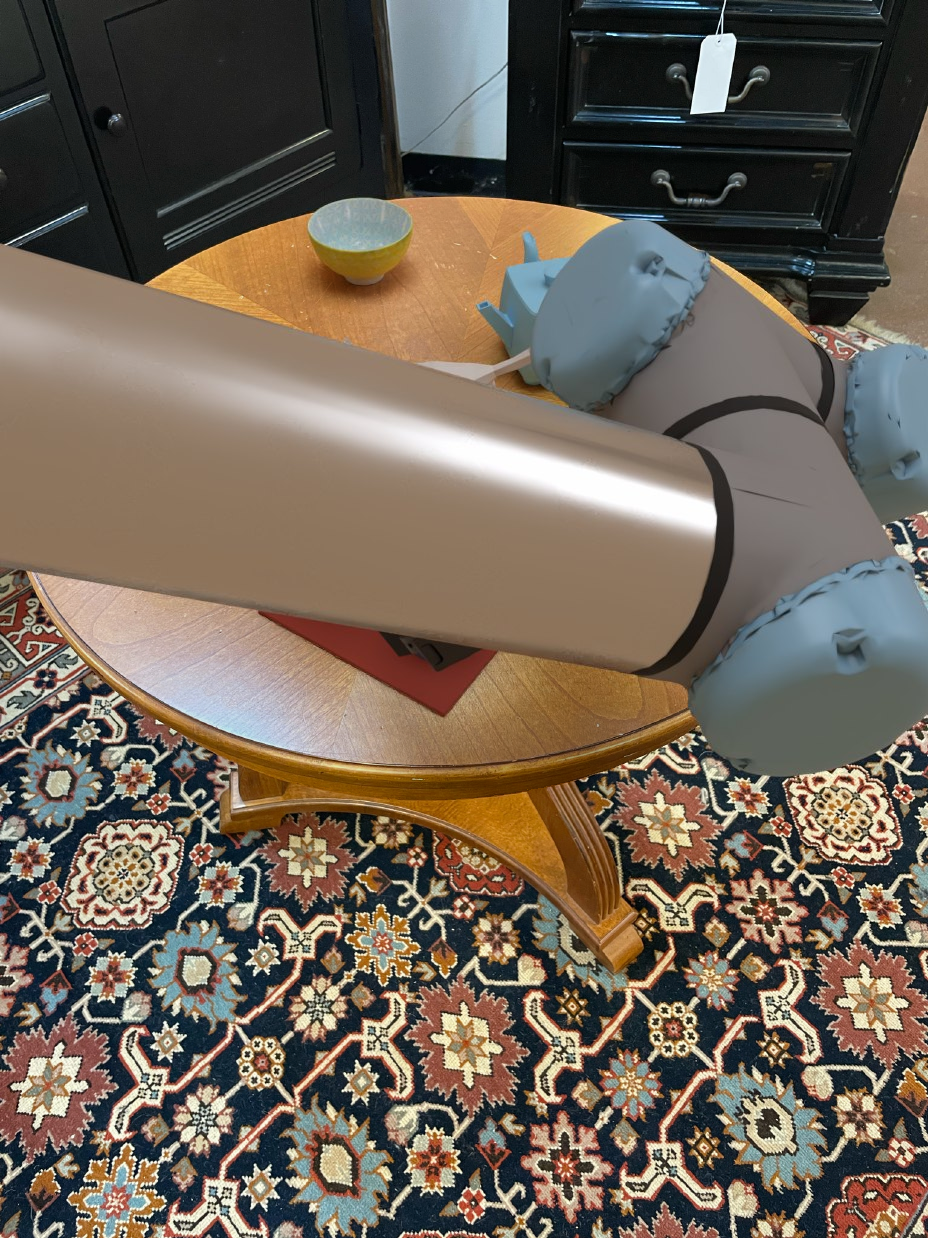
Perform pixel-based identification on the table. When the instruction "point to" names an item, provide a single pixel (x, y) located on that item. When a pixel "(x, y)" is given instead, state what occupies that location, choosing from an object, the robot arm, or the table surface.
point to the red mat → (391, 661)
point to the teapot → (522, 301)
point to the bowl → (361, 237)
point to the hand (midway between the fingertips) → (445, 578)
